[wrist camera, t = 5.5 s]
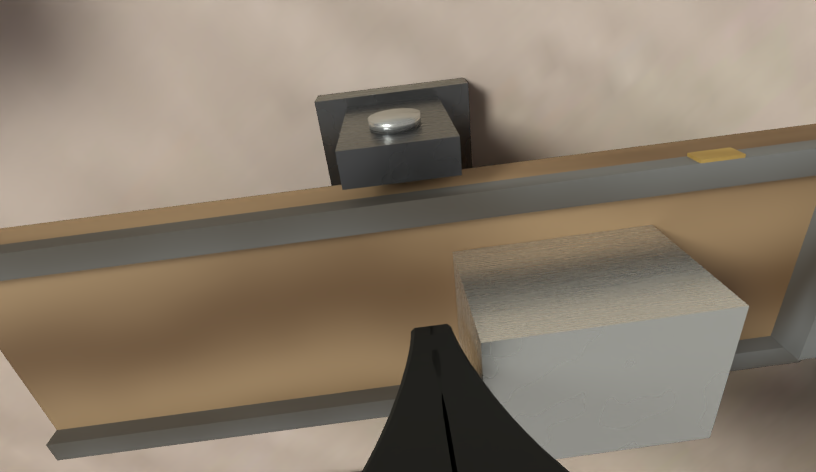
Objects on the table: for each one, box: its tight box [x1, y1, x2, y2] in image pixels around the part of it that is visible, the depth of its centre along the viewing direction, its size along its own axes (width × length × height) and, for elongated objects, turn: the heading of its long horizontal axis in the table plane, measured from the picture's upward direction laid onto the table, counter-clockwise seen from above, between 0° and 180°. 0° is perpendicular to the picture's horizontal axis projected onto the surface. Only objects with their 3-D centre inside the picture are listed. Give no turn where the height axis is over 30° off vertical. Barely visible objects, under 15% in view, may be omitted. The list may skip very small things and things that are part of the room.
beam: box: [0, 124, 816, 460], centre depth 15 cm, size 8×26×2 cm, turn 96°
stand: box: [315, 78, 472, 190], centre depth 16 cm, size 12×5×6 cm, turn 6°
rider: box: [453, 225, 749, 459], centre depth 13 cm, size 4×6×4 cm
